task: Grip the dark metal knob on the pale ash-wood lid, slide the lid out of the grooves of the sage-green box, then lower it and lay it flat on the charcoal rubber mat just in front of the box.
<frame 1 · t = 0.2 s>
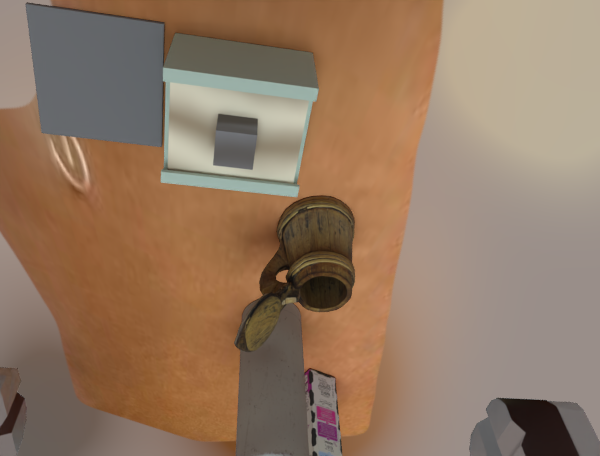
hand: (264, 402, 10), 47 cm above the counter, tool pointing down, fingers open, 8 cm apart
candy bar box: (302, 390, 89), on the counter
wooden mug: (297, 225, 68), on the counter
cover lid: (236, 127, 53), point 6 cm above the counter, touching box
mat: (100, 79, 56), on the counter
thermos bottle: (271, 316, 78), on the counter
box: (239, 98, 58), on the counter
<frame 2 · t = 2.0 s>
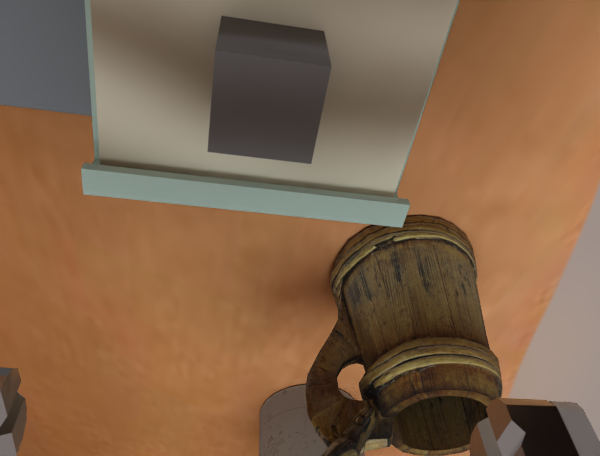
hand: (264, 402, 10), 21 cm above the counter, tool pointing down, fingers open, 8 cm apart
wooden mug: (367, 268, 37), on the counter
cover lid: (266, 58, 21), point 6 cm above the counter, touching box
thermos bottle: (308, 411, 47), on the counter
box: (266, 6, 26), on the counter
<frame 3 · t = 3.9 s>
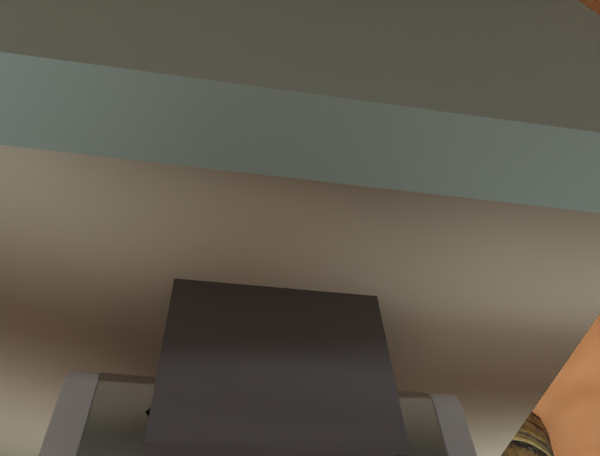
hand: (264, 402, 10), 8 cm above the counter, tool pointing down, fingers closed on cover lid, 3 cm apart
wooden mug: (401, 453, 27), on the counter
cover lid: (265, 307, 12), point 6 cm above the counter, touching box, gripper
box: (265, 156, 17), on the counter
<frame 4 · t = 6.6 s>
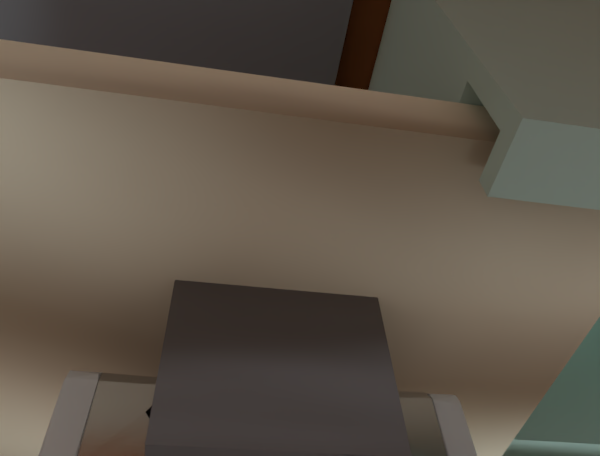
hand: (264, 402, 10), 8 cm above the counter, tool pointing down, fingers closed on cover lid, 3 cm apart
cover lid: (265, 308, 12), point 6 cm above the counter, touching gripper
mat: (102, 133, 16), on the counter
box: (553, 189, 18), on the counter
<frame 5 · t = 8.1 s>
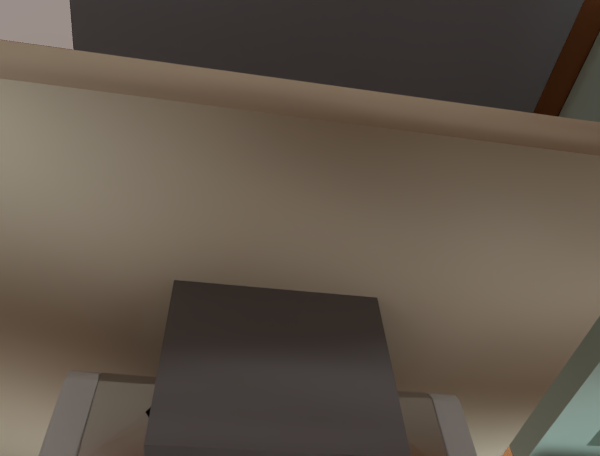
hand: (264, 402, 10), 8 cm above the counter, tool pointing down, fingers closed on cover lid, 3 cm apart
cover lid: (265, 308, 12), point 6 cm above the counter, touching gripper
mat: (299, 160, 17), on the counter
when the fingers open (4 cm above the counter, at t = 9.3 s): cover lid drops 2 cm, resting on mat.
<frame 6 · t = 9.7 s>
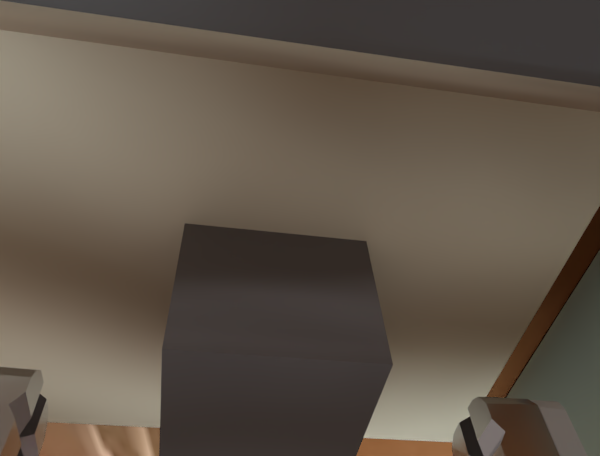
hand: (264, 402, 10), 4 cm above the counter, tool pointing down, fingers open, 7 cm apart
cover lid: (266, 259, 13), resting on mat
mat: (306, 252, 13), on the counter
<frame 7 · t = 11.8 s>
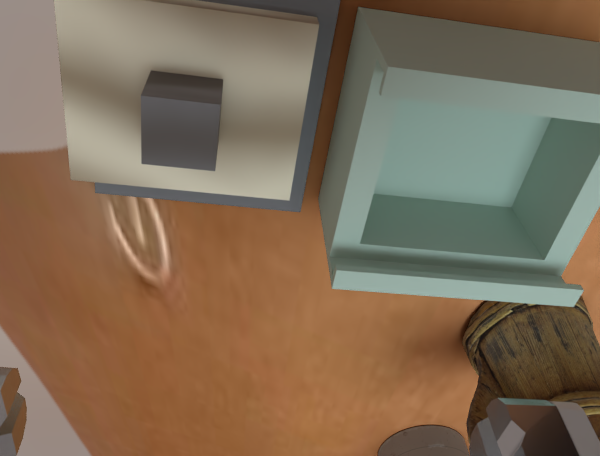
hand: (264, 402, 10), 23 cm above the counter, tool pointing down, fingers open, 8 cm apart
wooden mug: (492, 325, 43), on the counter
cover lid: (188, 98, 30), resting on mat
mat: (207, 97, 30), on the counter
thermos bottle: (420, 449, 52), on the counter
box: (448, 126, 32), on the counter
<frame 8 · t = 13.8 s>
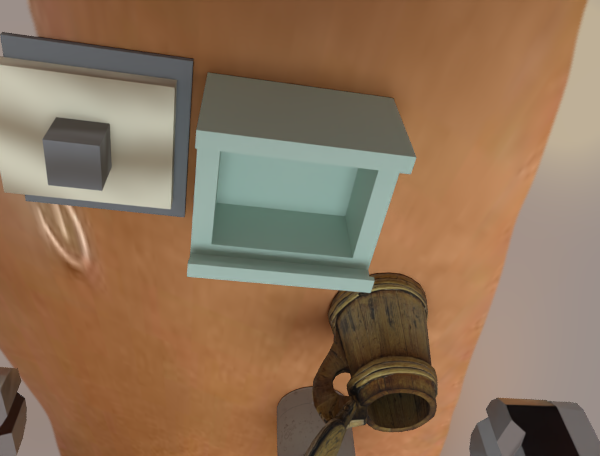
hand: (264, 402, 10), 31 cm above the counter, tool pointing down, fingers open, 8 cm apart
wooden mug: (353, 306, 54), on the counter
cover lid: (88, 134, 41), resting on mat
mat: (104, 133, 41), on the counter
thermos bottle: (312, 406, 63), on the counter
box: (289, 156, 43), on the counter
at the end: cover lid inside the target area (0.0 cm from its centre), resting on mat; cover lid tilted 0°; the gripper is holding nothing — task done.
